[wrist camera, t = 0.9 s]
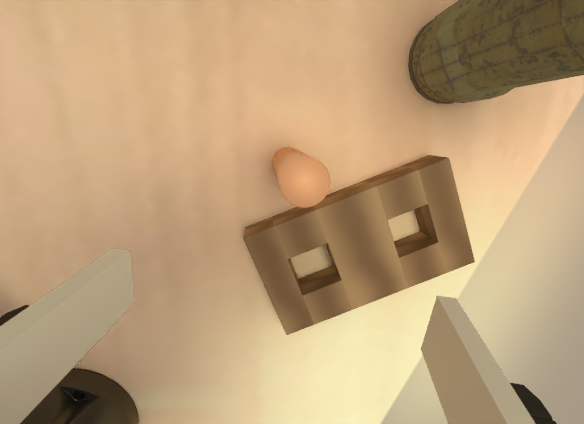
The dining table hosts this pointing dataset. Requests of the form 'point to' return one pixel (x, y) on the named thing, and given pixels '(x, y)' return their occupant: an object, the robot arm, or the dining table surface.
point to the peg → (301, 177)
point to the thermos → (497, 48)
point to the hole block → (362, 243)
